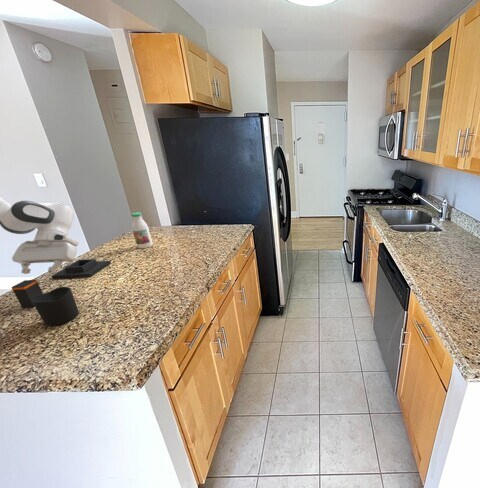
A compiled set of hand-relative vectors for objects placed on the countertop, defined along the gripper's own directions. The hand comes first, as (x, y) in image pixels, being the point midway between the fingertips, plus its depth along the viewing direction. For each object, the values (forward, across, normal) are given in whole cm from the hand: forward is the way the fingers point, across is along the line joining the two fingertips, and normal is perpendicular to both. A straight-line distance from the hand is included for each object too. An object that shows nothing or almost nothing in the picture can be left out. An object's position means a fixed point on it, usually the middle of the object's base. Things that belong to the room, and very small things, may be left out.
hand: (38, 272), depth 101 cm
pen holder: (+19, +18, -5) cm, 27 cm away
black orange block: (+12, 0, +3) cm, 12 cm away
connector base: (-8, -2, +22) cm, 24 cm away
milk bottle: (-28, +11, +43) cm, 53 cm away
